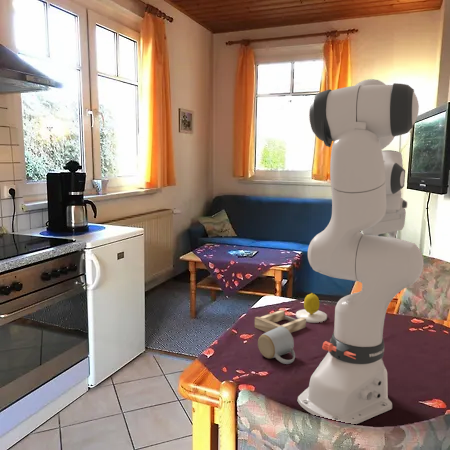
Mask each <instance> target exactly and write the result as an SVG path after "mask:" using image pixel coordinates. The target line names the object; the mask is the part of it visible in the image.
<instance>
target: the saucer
mask: <svg viewBox="0 0 450 450" xmlns="http://www.w3.org/2000/svg"><path fill="white" fill-rule="evenodd" d="M295 317H296V318H295V319H299V318H302V317H303V318H306V323H312V324H313V323H314V324H316V323H317V324H318V323H319V322H320V323H323V321H324V322H326V321H327V319H328V314H327V313H325V312H324V311H321V310H319V309H318V311H317V312H315V313H313V314H312V315H311V314H310V313H308V312H307V311H306V310H305V308H303V309H299V310H297V311H296V312H295Z"/></svg>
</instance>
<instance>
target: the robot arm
mask: <svg viewBox="0 0 450 450" xmlns="http://www.w3.org/2000/svg"><path fill="white" fill-rule="evenodd" d="M419 109H420V105H419V100H418V97H417V94H416V93H415V89H414V88H412V87H411V86H410V85H409V84H407V83H406V84H405V83H396V82H395V83H393V84H386V83H384V82H383V81H381V80H379V79H375V78H374V79H373V78H369V79H364V80H362V81H359V82H358V83H356V84H355V85H351V86H346V87H340V88H337V89H331V88H330V89H326V90H323V91H320V92H317V93H316V94H315V95H314V97H313V98H312V100H311V103H310V105H309V112H308V117H309V118H308V120H309V123H310V128H311V131H312V133H313V134H314V135H315V136H316V137H317V138H318V139H319V141H323V144H324V145H325V146H326V147H328V148H330V147H331V152H330V153H331V154H330V163H329V165H330V166H329V168H330V169H329V170H330V171H329V173H330V178H329V179H330V189H331V205H332V206H331V216H330V217H331V218H330V220H329V223H328V224H327V226H325V228H324V230H322V231H321V232H319V233H317V234H316V235H315V236H314V237H313V238H312V239H311V240H310V242H309V245H308V248H307V260H308V263H309V266H310V268H312V270H313V271H314V272H316V273H319V274H322V275H325V276H328V277H330V278H335V279H339V280H340V279H341V280H348V281H354V282H358V283H361V291H357V292H354V293H350V294H347V295H345V296H343V297H341V298H339V300H338V301H337V303H336V305H335V307H334V324H333V325H334V327H333V333H332V336H331V338H330V339H329V341H327V340H325V341H324V342H323V343H322V347H321V348H322V350H323V351H328V352H327V353H326V354H325V356H324V357H323V359H322V361H320V363H319V365H318V366H317V368H316V369H315V370H314V372H313V373H312V374H311V375H310V379H309V384H308V387H307V388H306V389H304V391H302V392H301V393H300V394H299V395H298V396H297V402H298V405H300V407H301V408H303V410H305V411H306V412H308V413H309V414H311V415H313V416H314V415H316V416H320V417H324V418H328V419H332V420H336V421H341V422H345V423H351V424H356V425H357V424H360V423H363V422H364V421H367V420H369V419H371V418H373V417H376V416H378V415H381V414H383V413H386V412H388V411H390V410H392V409H393V402H392V401H391V400H390V398H389V397H388V395H389V394H388V393H389V392H388V385H389V384H388V371H387V368H386V366H385V364H384V361H383V360H384V359H383V357H384V355H385V353H384V352H385V340H384V338H383V336H384V334H383V333H384V326H385V319H386V313H387V309H388V307H389V305H390V303H391V302H392V301H393V299H394V298H395V297H396V296H397V295H398V294H399V293H400V292H401V291H403V290H405V289H406V288H409V287H410V286H413V284H415V283H416V282H417V281H418V280H419V278H420V277H421V275H422V273H423V271H424V257H423V253H422V251H421V250H420V248H419V246H418V245H417V244H416V243H414V242H412V241H408V240H404V239H401V238H397V237H396V236H397V232H398V231H402V230H403V229H404V228H405V223H406V209H407V208H408V200H405V199H403V198H402V189H403V188H404V187H405V183H406V182H405V181H406V180H405V179H406V178H405V177H406V170H405V168H404V166H403V165H404V163H403V155H402V153H401V152H400V151H396V150H384V149H386V147H388V146H389V145H390V144H391V143H392V141H393V140H394V139H395V137H398V136H403V135H405V134H408V133H409V132H410V131H411V130H412V129H414V124H415V122H416V121H417V118H418V115H419ZM361 231H362V232H361ZM383 234H384V235H385V234H388V236H382V235H383ZM316 416H315V417H316Z"/></svg>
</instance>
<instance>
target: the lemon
mask: <svg viewBox="0 0 450 450" xmlns="http://www.w3.org/2000/svg"><path fill="white" fill-rule="evenodd" d="M303 309H305V310H306V311H307V312H308V313H310V314H311V315H312V314H313V313H315V312H317V311H318V310H319V309H320V300H319V297H318V296H317V295H316V294H315V293H313V292H311V293H309V294H307V295H305V297H304V301H303Z"/></svg>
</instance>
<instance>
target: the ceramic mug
mask: <svg viewBox="0 0 450 450" xmlns="http://www.w3.org/2000/svg"><path fill="white" fill-rule="evenodd" d="M294 345H295V341H294V337H293V335H292V333H290V332H289V331H288V329H286V328H285V327H282V326H280V327H277V328H275V329H273V330H270V331H268V332H264V333H263V334H261V335H260V336H259V337H258V340H257V347H258V350H259V352H260V354H261V355H262V356H263V358H264V357H265V358H266V359H274V358H275V360H277V361H278V362H280V363H281V364H284V365H285V364H286V365H289V364H292V363H294V361H295V360H296V359H295V358H296V353H295V350H294ZM288 353H290V354H291V357H292V359H285V358H283V357H281V356H283V355H286V354H288Z"/></svg>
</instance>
